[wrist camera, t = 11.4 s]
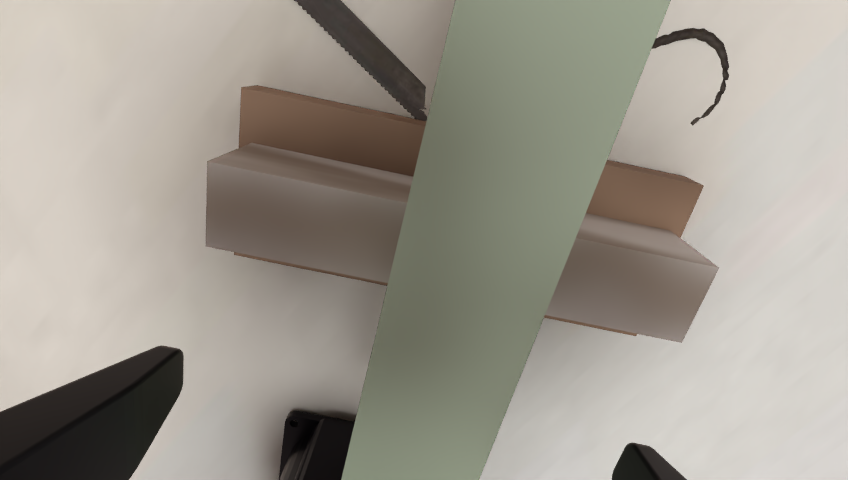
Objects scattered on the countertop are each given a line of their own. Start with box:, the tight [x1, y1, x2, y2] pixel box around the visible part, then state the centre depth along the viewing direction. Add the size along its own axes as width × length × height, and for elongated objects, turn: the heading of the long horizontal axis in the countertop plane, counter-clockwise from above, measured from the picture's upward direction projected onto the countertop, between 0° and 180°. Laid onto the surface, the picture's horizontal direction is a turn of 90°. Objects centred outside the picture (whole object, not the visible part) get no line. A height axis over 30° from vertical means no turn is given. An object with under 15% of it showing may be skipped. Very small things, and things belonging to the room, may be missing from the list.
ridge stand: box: [206, 85, 719, 343], centre depth 17 cm, size 7×18×5 cm, turn 79°
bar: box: [341, 0, 671, 480], centre depth 13 cm, size 18×4×4 cm, turn 166°
